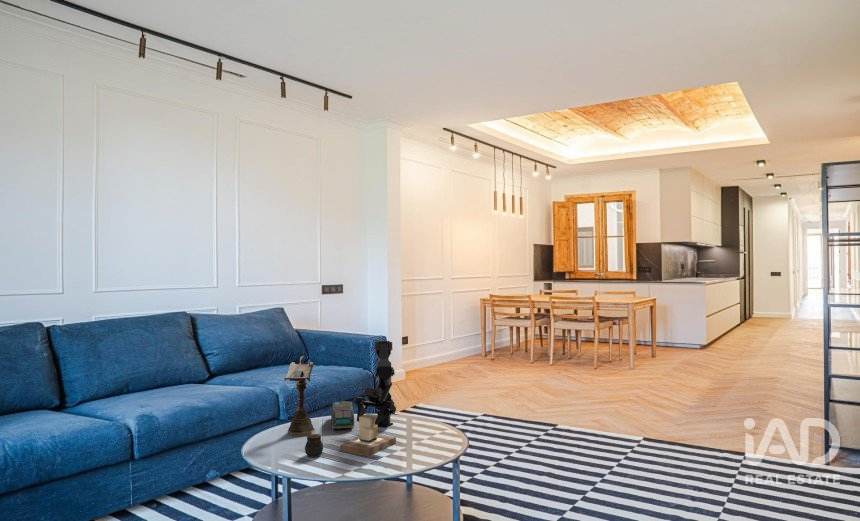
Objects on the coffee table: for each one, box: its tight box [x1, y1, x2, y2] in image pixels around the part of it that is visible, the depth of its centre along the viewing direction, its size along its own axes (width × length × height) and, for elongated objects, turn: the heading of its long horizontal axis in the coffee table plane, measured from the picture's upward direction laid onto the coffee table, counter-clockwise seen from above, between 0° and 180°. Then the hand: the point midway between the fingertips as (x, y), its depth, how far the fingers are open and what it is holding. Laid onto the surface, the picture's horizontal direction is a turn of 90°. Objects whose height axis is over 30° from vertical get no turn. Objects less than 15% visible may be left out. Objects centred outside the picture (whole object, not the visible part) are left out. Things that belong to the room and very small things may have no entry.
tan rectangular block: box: [358, 413, 379, 442], centre depth 244 cm, size 6×5×10 cm
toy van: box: [330, 400, 355, 430], centre depth 280 cm, size 11×25×10 cm, turn 10°
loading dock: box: [339, 433, 397, 457], centre depth 244 cm, size 20×14×3 cm
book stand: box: [282, 355, 316, 437], centre depth 263 cm, size 17×13×35 cm
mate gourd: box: [304, 430, 324, 458], centre depth 233 cm, size 7×8×10 cm
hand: (366, 422), depth 243 cm, fingers open, 9 cm apart
